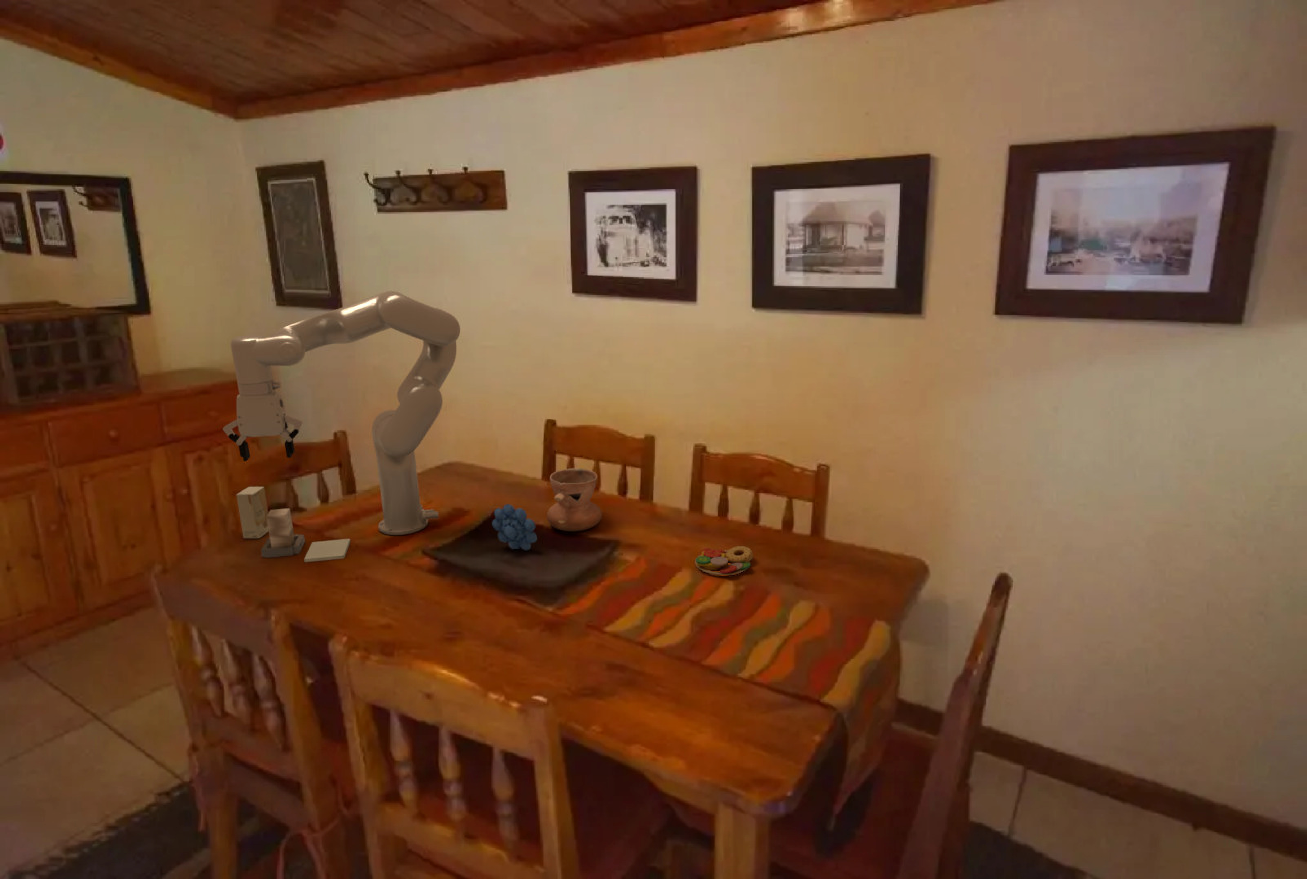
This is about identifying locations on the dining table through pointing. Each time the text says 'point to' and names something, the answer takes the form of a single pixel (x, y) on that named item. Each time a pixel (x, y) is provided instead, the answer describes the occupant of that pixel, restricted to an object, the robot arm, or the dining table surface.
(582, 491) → the ceramic jug
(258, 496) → the skincare box
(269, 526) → the square peg
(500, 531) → the blue flower
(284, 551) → the frame
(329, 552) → the coaster
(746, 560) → the toy food set
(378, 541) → the dining table surface
